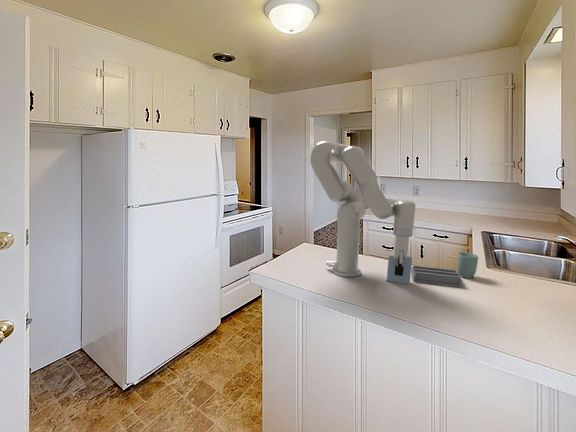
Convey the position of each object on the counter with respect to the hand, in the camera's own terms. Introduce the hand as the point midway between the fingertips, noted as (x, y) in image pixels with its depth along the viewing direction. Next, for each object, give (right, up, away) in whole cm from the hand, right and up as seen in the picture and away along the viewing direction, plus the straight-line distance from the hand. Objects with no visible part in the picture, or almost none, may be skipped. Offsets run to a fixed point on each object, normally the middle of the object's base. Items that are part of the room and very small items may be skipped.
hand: (398, 274), depth 130 cm
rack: (+17, -3, +3) cm, 17 cm away
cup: (+33, -3, +9) cm, 34 cm away
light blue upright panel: (0, -3, +1) cm, 3 cm away
